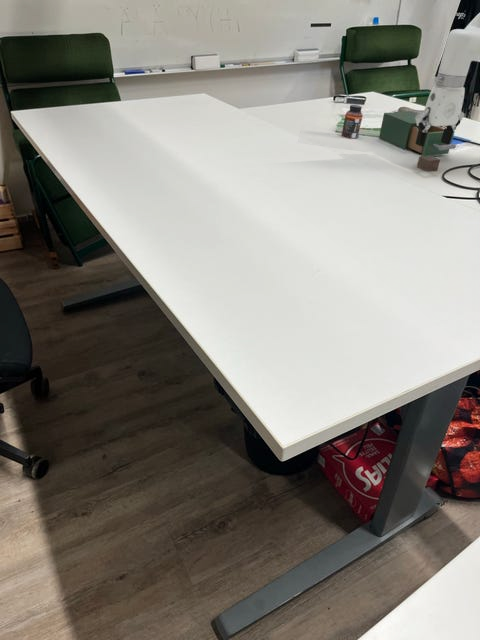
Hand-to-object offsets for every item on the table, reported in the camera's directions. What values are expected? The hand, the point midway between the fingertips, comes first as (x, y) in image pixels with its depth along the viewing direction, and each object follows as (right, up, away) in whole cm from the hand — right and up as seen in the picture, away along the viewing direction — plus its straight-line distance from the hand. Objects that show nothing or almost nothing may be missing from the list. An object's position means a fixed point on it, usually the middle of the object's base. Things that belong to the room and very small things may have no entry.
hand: (432, 144), depth 143 cm
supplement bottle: (-18, +13, +31) cm, 38 cm away
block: (0, -7, +5) cm, 9 cm away
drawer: (+6, +5, +20) cm, 22 cm away
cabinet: (+2, +11, +29) cm, 31 cm away
